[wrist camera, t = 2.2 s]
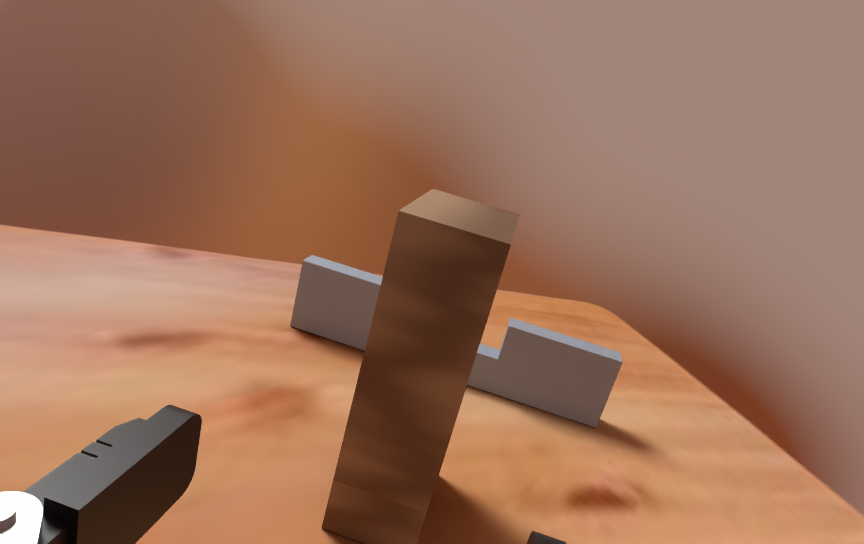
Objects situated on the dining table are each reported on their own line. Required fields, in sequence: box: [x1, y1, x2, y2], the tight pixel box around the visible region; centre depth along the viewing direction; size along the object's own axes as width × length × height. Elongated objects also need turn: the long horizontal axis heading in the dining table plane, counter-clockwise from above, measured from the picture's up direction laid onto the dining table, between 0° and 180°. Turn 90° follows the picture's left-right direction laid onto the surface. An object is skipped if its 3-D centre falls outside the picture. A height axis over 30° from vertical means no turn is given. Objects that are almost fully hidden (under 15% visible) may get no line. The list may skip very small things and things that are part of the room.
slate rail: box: [290, 255, 623, 428], centre depth 39 cm, size 22×2×5 cm, turn 78°
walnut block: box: [322, 189, 520, 544], centre depth 24 cm, size 4×6×14 cm, turn 168°
